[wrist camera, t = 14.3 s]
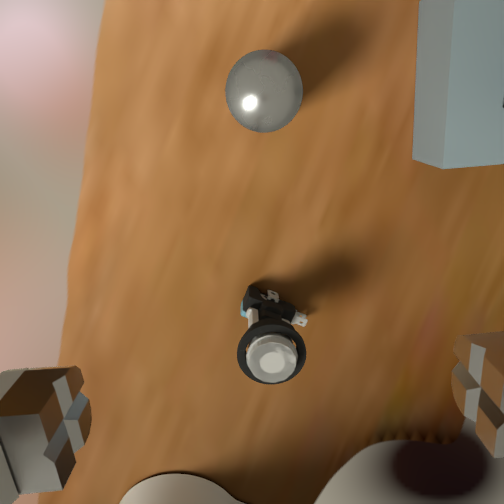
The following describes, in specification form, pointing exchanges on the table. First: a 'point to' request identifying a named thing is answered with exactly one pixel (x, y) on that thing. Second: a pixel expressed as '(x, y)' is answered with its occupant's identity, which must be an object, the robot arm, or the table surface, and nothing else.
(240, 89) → the round bit
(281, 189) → the table surface
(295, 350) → the push button
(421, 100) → the socket block
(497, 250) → the table surface
